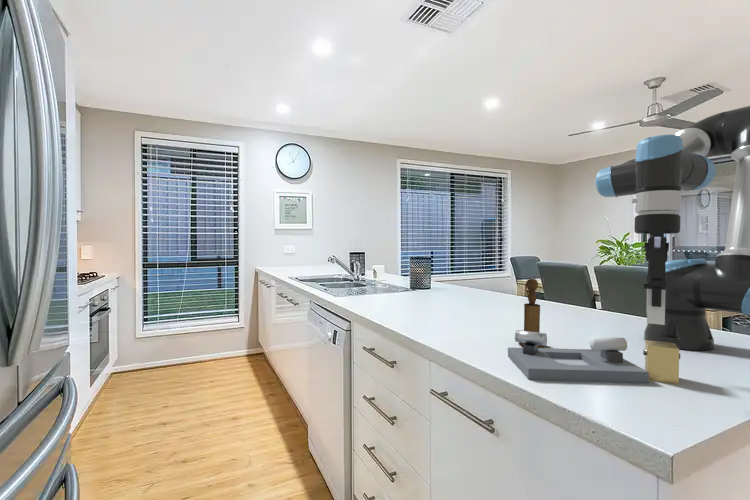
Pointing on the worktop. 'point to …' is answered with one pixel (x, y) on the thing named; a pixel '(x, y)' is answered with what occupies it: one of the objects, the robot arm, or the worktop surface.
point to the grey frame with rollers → (581, 363)
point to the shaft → (530, 340)
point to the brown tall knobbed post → (532, 310)
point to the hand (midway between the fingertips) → (654, 318)
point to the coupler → (662, 361)
